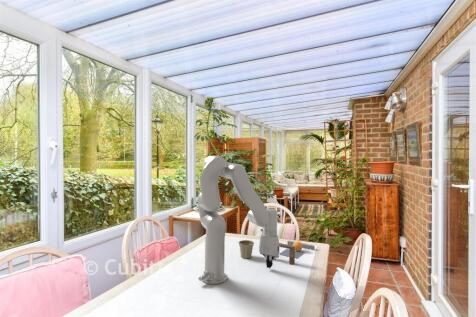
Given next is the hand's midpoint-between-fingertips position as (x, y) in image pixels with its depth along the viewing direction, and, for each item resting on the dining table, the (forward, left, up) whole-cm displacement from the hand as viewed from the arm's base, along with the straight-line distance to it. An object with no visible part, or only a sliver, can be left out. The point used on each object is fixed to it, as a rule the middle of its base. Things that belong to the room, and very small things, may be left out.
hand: (269, 267), depth 149 cm
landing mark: (+30, 0, -2) cm, 30 cm away
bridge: (+15, 0, -2) cm, 15 cm away
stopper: (+45, 0, -2) cm, 45 cm away
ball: (+37, -1, +2) cm, 37 cm away
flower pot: (+9, +20, -2) cm, 22 cm away
